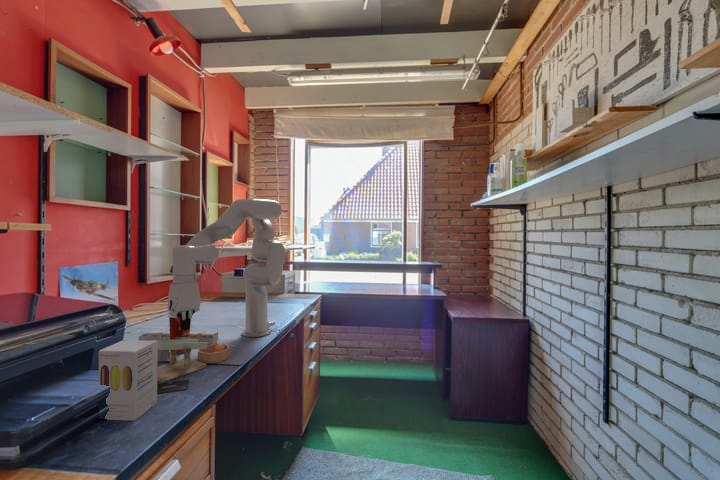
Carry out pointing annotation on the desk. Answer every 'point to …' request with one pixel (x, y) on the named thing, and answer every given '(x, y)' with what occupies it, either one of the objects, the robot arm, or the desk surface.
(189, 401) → the desk surface
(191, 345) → the lever tray
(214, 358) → the bowl
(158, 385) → the solid state drive
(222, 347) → the ball
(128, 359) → the supplement box
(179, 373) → the stand
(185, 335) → the coffee cup
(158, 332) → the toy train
